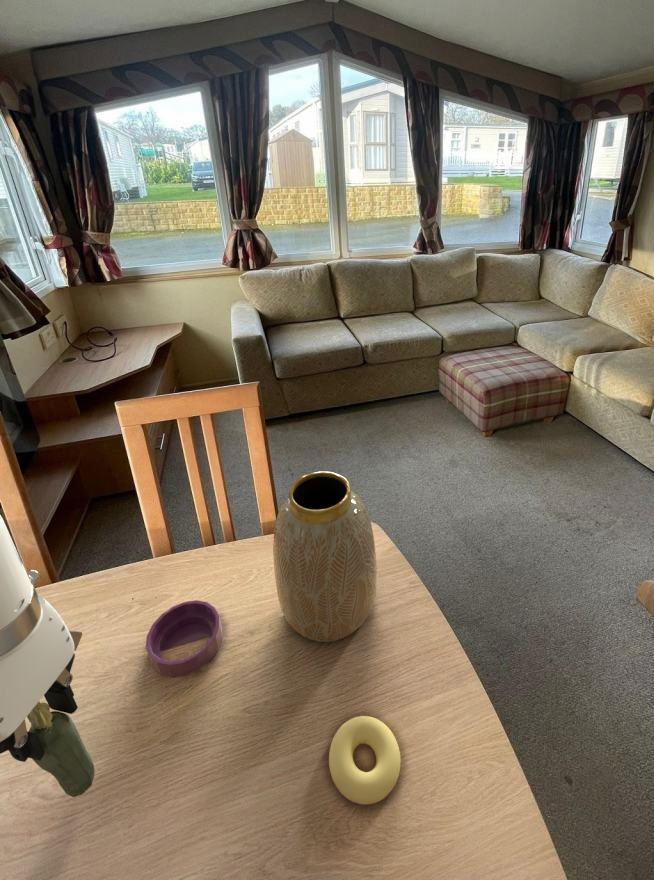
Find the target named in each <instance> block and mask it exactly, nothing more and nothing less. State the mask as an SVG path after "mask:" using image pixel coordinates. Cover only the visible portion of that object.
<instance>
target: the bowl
mask: <svg viewBox="0 0 654 880" xmlns="http://www.w3.org/2000/svg"><path fill="white" fill-rule="evenodd" d="M222 625H223V624H222V622H221V618H220V614H219V613H218V610H217V609H216V607H215V606H213V605H212V604H210V603H209V602H207V601H202V600H197V599H195V600H187V601H183V602H181V603H178V604H176V605H173V606H171V607H170V608H168V609H167V610H165V611H164V612H163V613H161V614H160V615H159V616H158V618H156V620H155V621H154V622H153V623H152V624H151V627H150V628H149V631H148V632H147V635H146V641H145V649H146V653H147V656H148V659H149V661H150V663H151V666H152V669H153V670H154V671H155V672H157V673H158V674H159V675H161V676H163V677H168V678H180V677H187V676H188V675H190V674H193V673H195V672H197V671H199V670H200V669H202V668H203V667H205V666H206V665H207V664H208V663H209V662H210V661H212V659H213V658H214V656H215V655H216V654H217V652H218V651H219V649H220V646H221V643H222V640H223V634H224V630H223V626H222ZM205 639H209V640H208V641H207V642H206V643H205V645H204V646H202V647H201V649H199V650H198V651H197V652H195V653H194V654H191V655H189V656H187V657H185V658H182V659H176V660H167V659H166V658H164V657H163V656H162V653H163V652H165V651H169V650H172V649H176V648H179V647H182V646H185V645H188V644H193V643H195V642H199V641H202V640H205Z"/></svg>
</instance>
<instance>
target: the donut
mask: <svg viewBox="0 0 654 880" xmlns="http://www.w3.org/2000/svg"><path fill="white" fill-rule="evenodd" d="M359 745H367V746H369V747H370V749H372V750H373V752H374V755H375V757H376V762H375V766H374V767H373V768H372V770H370V771H363V770H361V769H359V768H358V767H357V765H356V763H355V761H354V752H355V749H356V748H357V747H358V746H359ZM328 766H329V772H330V776H331V779H332V781H333V783H334V785H335V787H336V788H337V790H338V791H339V793H340V794H341V795H342V796H343V797H344V798H346V799H347V800H348V801H350V802H352V803H354V804H358V805H363V806H369V805H373V804H376V803H379V802H381V801H383V800H384V799H385V798H386V797H387V796H389V795H390V794H391V792H392V791H393V790H394V788H395V786H396V784H397V782H398V779H399V776H400V771H401V752H400V748H399V744H398V741H397V739H396V737H395V735H394V733H393V732H392V730H391V729H390V728H389V727H388V726H387V725H386V724H385V723H384V722H383V721H381V720H380V719H378V718H375V717H372V716H368V715H360V716H354V717H352V718H350V719H349V720H347V721H346V722H344V723H343V724H342V725H341V726H340V727H339V728H338V730H337V731H336V732H335V734H334V735H333V738H332V741H331V743H330V748H329V754H328Z"/></svg>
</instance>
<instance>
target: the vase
mask: <svg viewBox="0 0 654 880" xmlns="http://www.w3.org/2000/svg"><path fill="white" fill-rule="evenodd" d="M370 517H371V516H370V515H369V512H368V510H367V508H366V505H365V503H364V502H363V501H362V499H361V498H360V497H359V496H358V494H357V493H355V492H354V491H353V490H352V489H351V485H350V483H349V481H348V480H347V478H345V477H344V476H342V475H340V474H338V473H336V472H332V471H316V472H311V473H308V474H305V475H303V476H301V477H299V478H298V479H297V480H295V481H294V482H293V484H292V485H291V486H290V488H289V491H288V498H287V499H286V500H285V501H284V503H283V504H282V506H281V508H280V509H279V511H278V513H277V516H276V520H275V523H274V530H273V543H272V544H273V545H272V547H273V549H272V553H273V555H272V556H273V570H274V579H275V586H276V591H277V597H278V603H279V607H280V609H281V613H282V615H283V617H284V618H285V620H286V622H287V623H288V625H289V626H290V627H291V628H292V629H293V630H294V631H295V632H296V633H298V634H299V635H300V636H302V637H304V638H306V639H309V640H311V641H314V642H321V643H323V642H324V643H326V642H327V643H329V642H335V641H338V640H342V639H344V638H346V637H349V636H350V635H352V634H353V633H354V632H356V631H357V630H358V629H359V628H360V627H361V626H362V625H363V623H364V622H365V621H366V620H367V618H368V617H369V615H370V613H371V612H372V609H373V607H374V603H375V600H376V596H377V580H378V579H377V577H378V576H377V574H378V573H377V570H378V569H377V567H378V566H377V554H376V546H375V545H376V544H375V537H374V531H373V526H372V522H371V518H370Z"/></svg>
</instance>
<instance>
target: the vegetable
mask: <svg viewBox="0 0 654 880" xmlns="http://www.w3.org/2000/svg"><path fill="white" fill-rule="evenodd" d="M26 718H27V719H28V721H29V723H30V727H29V729H28V730H27V731H28V732H32V733H34V734H35V735H36V736H37V738H38V740H39V742H40V744H41V746H42V747H43V749H44V751H45V752H44V756H43V757H42V759H41V760H35V759H32V761H33V762H34V763H35V764H36V765H37V766H38V767H39V768H40V769H41V770H43V771H45V772H47V773H49V774H51V775H52V776H53V777H54V778H55V779H56V781H57V783H58V784H59V786H60V787H61V789H62V790H63V791H64V793H65V794H66V795H68V796H70V797H72V798H76V797H78V796H81V795H84V794H85V793H86V792H87V791H88V790H89V789H90V788H91V787H92V785H93V781H94V779H95V773H96V770H95V764H94V760H93V757H92V756H91V755H90V753H89V751H88V749H87V748H86V746H85V744H84V742H83V739H82V738H81V735H80V733H79V731H78V729H77V727H76V724H75V723H74V721H73V719H72V717H71V716H70V715H68V713H65V712H61V711H57V710H53V711H51V708H50V706H49V705H48V703H47V702H45V701H44V702H40V701H39V702H38V703H37V704H36V706H35V707H34V708H33V709H32V711H31V712H30V713H29V714H28V716H27V717H26Z"/></svg>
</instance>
